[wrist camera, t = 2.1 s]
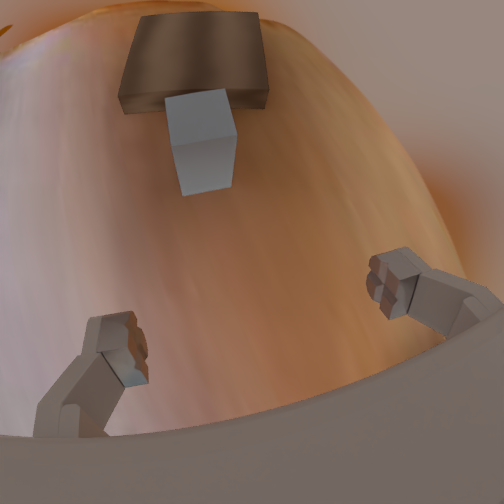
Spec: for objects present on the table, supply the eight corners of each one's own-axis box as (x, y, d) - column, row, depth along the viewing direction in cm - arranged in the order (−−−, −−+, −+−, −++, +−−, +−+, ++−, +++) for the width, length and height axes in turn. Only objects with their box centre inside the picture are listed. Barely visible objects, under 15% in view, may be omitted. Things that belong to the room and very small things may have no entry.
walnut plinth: (124, 114, 27) (117, 95, 24) (144, 33, 30) (141, 16, 27) (264, 108, 29) (269, 89, 26) (254, 30, 32) (257, 12, 29)
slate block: (182, 196, 26) (171, 146, 18) (175, 154, 26) (164, 98, 19) (231, 187, 26) (237, 135, 19) (221, 146, 27) (224, 88, 19)
